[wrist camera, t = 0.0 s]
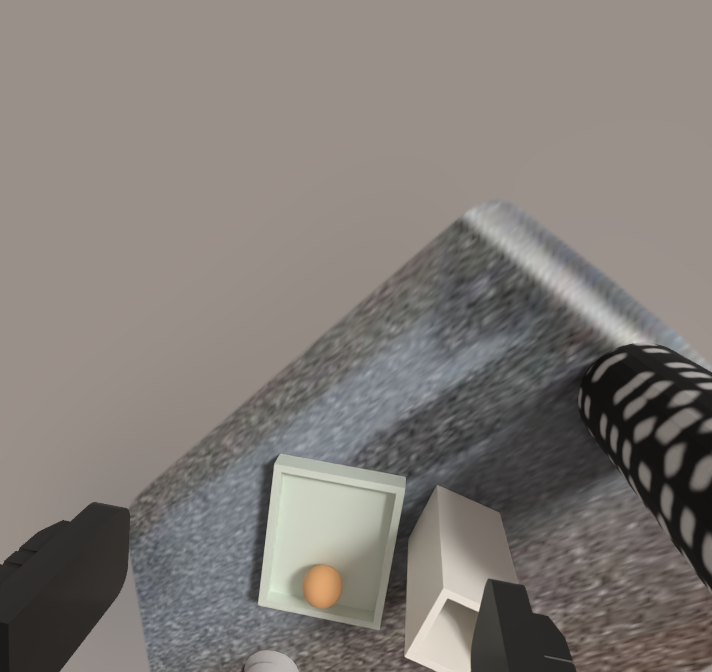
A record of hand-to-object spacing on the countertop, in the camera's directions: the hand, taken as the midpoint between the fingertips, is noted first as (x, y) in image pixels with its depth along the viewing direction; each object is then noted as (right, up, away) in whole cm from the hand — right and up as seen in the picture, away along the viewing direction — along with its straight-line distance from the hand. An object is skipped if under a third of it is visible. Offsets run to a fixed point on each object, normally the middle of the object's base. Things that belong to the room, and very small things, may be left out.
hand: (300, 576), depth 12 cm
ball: (-2, -15, +32) cm, 35 cm away
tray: (-1, -11, +33) cm, 35 cm away
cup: (+9, -10, +32) cm, 34 cm away
